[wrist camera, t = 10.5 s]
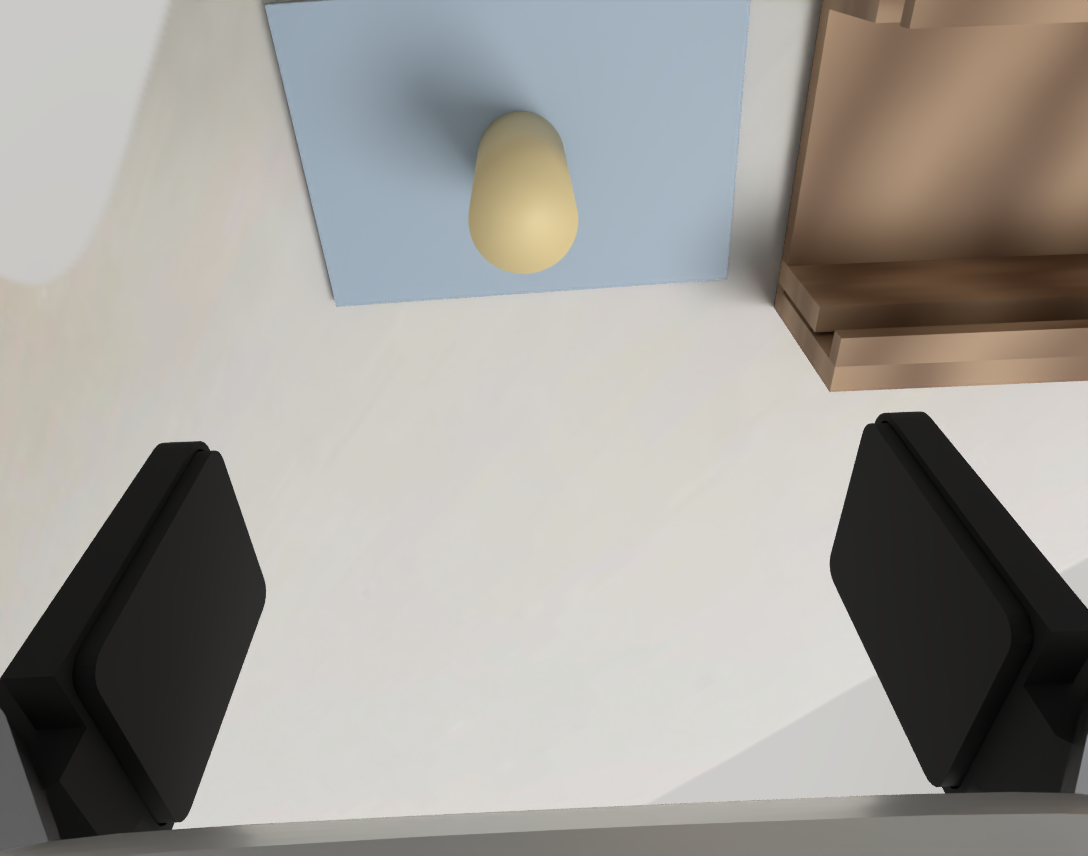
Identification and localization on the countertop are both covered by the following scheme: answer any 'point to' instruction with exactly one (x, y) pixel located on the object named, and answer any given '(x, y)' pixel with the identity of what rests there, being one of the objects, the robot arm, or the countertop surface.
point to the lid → (515, 141)
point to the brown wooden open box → (942, 196)
